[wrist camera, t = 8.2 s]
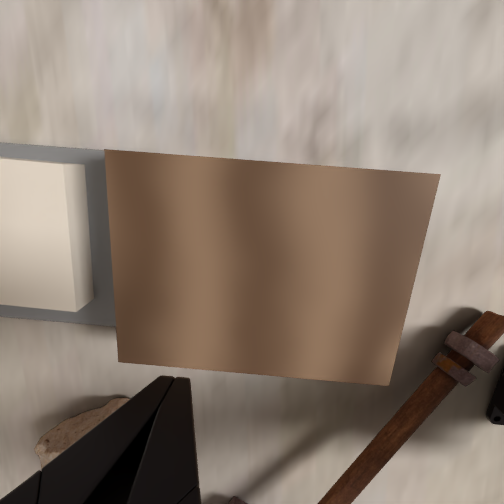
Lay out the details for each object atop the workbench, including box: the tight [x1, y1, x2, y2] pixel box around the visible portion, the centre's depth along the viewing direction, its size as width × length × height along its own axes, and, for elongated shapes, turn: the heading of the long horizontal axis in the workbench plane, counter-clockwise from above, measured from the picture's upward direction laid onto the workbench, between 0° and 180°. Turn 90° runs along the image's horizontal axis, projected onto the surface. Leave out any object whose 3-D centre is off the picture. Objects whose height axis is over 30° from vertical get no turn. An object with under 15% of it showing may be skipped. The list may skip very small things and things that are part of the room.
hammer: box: [228, 311, 504, 504], centre depth 21 cm, size 7×33×10 cm, turn 144°
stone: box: [34, 398, 130, 468], centre depth 23 cm, size 9×11×5 cm
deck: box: [104, 149, 441, 386], centre depth 18 cm, size 16×12×4 cm
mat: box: [0, 143, 116, 327], centre depth 20 cm, size 10×12×1 cm
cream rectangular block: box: [0, 157, 94, 312], centre depth 18 cm, size 6×9×2 cm, turn 175°
